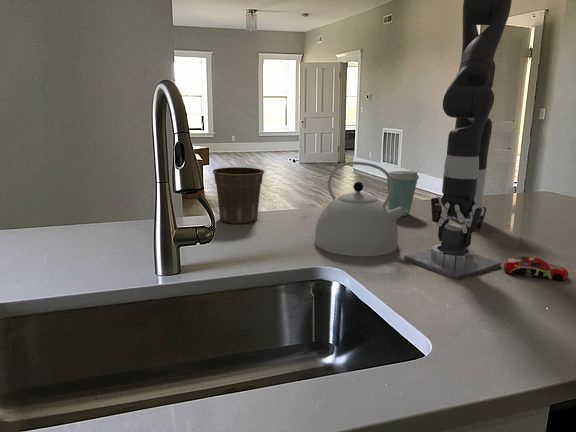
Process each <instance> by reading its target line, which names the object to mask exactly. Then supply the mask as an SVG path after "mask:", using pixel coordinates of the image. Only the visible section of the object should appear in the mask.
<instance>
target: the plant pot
mask: <svg viewBox="0 0 576 432" xmlns="http://www.w3.org/2000/svg"><path fill="white" fill-rule="evenodd" d="M212 173H213V175H214V176H213V177H214V183H215V185H216V194H217V202H218V213H219V220H220V221H221V222H224V223H226V222H227V223H228V224H233V225H234V224H237V225H242V224H243V225H244V224H250V223H252V222H256V221H257V220H258V216H259V215H258V213H259V204H260V194H261V185H262V183H263V175H264V174H265V170H264V169H262V168H255V167H243V166H237V167H235V166H231V167H230V166H229V167H219V168H215V169H213V170H212Z"/></svg>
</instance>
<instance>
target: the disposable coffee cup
mask: <svg viewBox="0 0 576 432" xmlns="http://www.w3.org/2000/svg"><path fill="white" fill-rule="evenodd" d="M388 173H389V175H390V177H391V179H392V182H393V192H392V196H391V198H390V200H389V201H388V208H389V210H392V209H395V208H398V207H404V208H405V209H407V210H408V212H407V213H406V214H404V215H403V216H402V217H404V216H408V215H409V213H411V209H412V205H413V200H414V197H415V191H416V188H417V183H418V179H419V177H420V176H419V174H418V171H416V170H415V171H414V170H396V171H395V170H393V171H392V170H391V171H389V172H388ZM386 182H387V196H388V195H389V192H390V183H389V179H388V177H387V176H386Z"/></svg>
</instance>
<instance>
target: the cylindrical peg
mask: <svg viewBox="0 0 576 432" xmlns="http://www.w3.org/2000/svg"><path fill="white" fill-rule="evenodd" d="M462 233H463V230H462V226H461V224H460V225H459V224H452V223H448V225H445V226H444V227H443V230H442V240H441V241H440V244H441V247H442V248H444V249H448V250H454V251H461V250H465V248H461V247H460V245H461V236H462Z"/></svg>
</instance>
